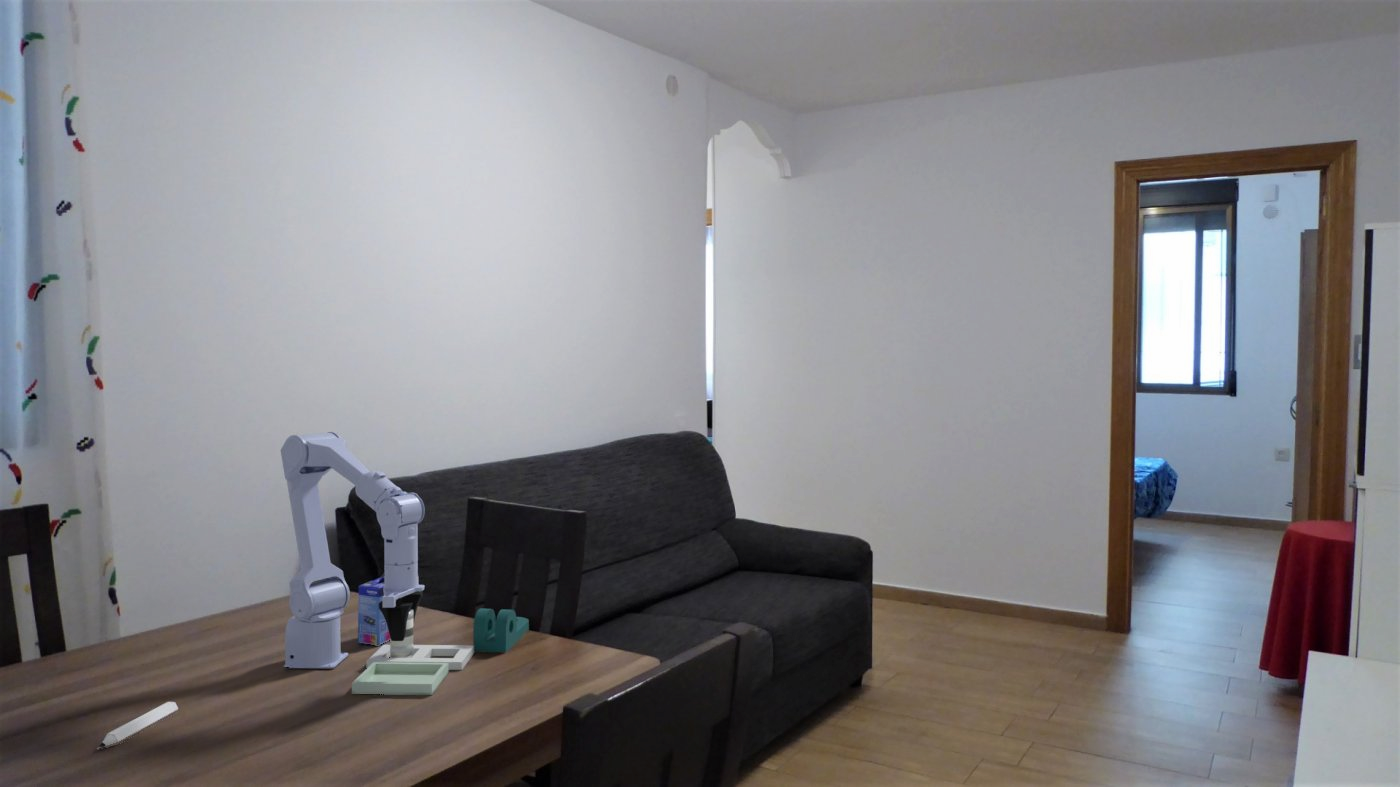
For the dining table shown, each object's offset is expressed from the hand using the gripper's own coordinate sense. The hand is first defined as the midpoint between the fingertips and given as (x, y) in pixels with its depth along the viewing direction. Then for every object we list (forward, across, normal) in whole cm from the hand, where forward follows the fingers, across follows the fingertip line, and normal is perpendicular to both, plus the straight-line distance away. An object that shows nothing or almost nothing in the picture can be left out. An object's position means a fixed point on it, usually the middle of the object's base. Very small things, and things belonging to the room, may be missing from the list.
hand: (401, 636), depth 170 cm
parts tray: (+9, 0, 0) cm, 9 cm away
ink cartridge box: (+9, +26, +12) cm, 30 cm away
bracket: (+9, +27, -13) cm, 31 cm away
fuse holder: (+9, +12, 0) cm, 15 cm away
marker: (+9, -22, +35) cm, 42 cm away
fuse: (+9, +12, +4) cm, 16 cm away
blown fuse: (+2, 0, 0) cm, 2 cm away
